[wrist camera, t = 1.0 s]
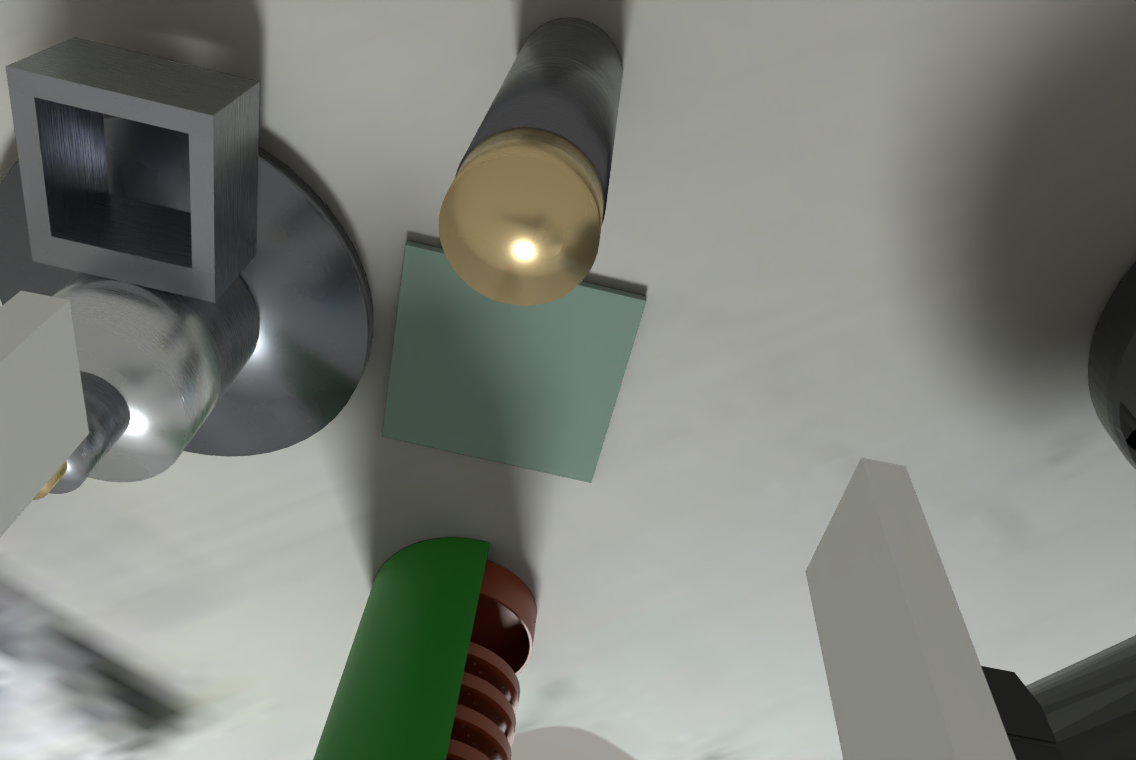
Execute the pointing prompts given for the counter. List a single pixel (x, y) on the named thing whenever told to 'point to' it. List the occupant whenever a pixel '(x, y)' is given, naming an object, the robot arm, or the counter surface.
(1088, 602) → the counter surface
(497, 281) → the gold capped bottle
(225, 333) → the grey cylinder with box
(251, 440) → the base
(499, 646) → the cutaway screw mechanism model
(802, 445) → the counter surface
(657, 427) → the counter surface
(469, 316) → the mat
